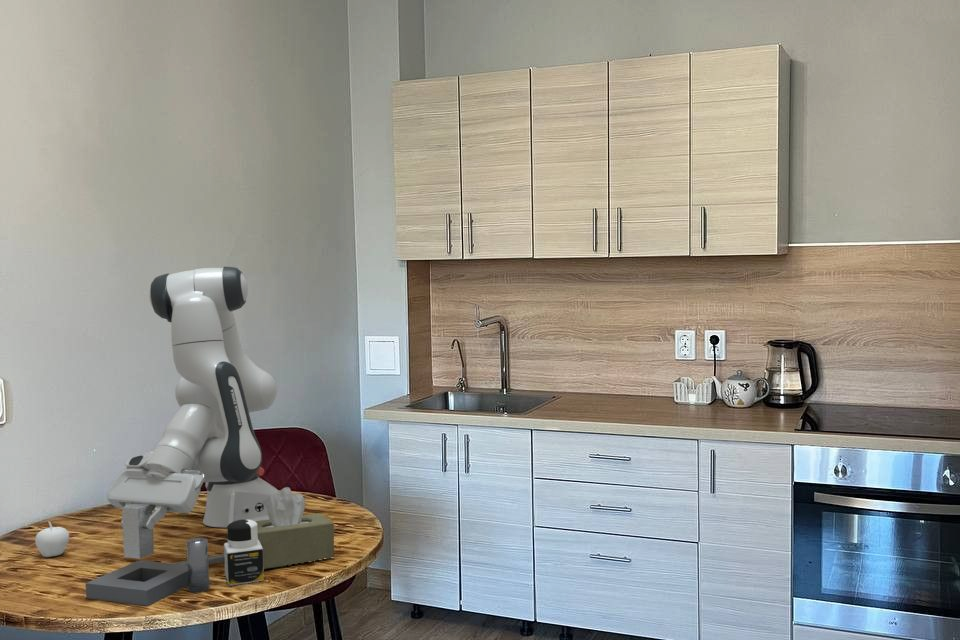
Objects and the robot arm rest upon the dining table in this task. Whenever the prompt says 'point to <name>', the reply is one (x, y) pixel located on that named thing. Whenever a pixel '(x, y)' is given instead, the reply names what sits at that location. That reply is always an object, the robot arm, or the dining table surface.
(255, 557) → the medicine bottle
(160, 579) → the socket block
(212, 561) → the adjustable wrench
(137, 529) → the square bit
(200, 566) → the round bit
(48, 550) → the plain white apple
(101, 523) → the dining table surface
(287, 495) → the tissue box
